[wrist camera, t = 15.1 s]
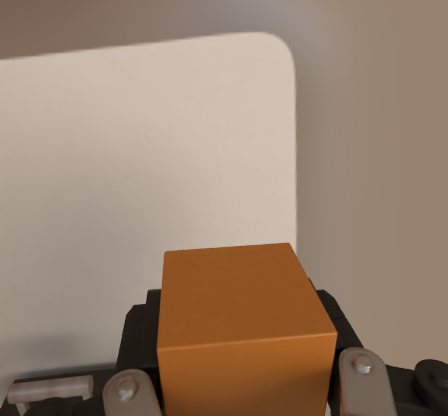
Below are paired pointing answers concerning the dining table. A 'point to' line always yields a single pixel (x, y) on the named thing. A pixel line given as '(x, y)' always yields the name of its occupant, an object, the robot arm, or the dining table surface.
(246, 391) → the block
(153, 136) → the dining table surface
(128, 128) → the dining table surface
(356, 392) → the robot arm
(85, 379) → the drawer
